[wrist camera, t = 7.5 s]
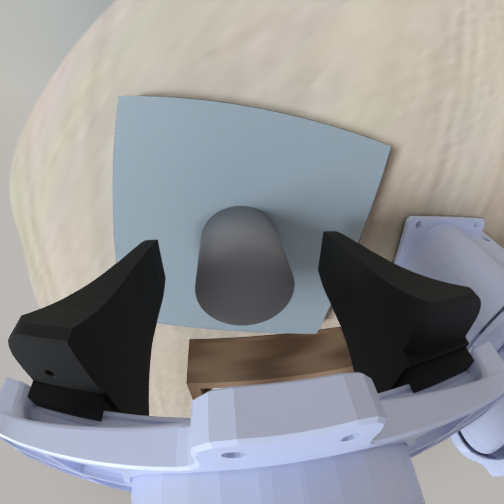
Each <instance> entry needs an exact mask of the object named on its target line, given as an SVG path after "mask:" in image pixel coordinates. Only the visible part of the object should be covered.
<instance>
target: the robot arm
mask: <svg viewBox="0 0 504 504" xmlns="http://www.w3.org/2000/svg"><path fill="white" fill-rule="evenodd" d="M417 222H418V224H417V225H416V223H417ZM484 225H485V220H484V219H483V218H476V217H450V216H410V217H408V218H407V219H406V222H405V225H404V229H403V233H402V237H401V240H400V244H399V247H398V251H397V254H396V258H395V261H394V263H392V262H390V261H388V260H386V259H385V258H383V257H381V256H379V255H377V254H375V253H374V252H372V251H370V250H369V249H367V248H365V247H364V246H362V245H360V244H359V243H357V242H355V241H354V240H352V239H350V238H349V237H347V236H345V235H343V234H342V233H339V232H337V231H323V238H322V245H321V252H320V259H319V265H318V272H319V275H320V279H321V282H322V285H323V288H324V290H325V293H326V295H327V297H328V299H329V301H330V303H331V306H332V308H333V310H334V312H335V314H336V316H337V319H338V321H339V323H340V325H341V328H342V330H343V333H344V336H345V340H346V343H347V346H348V350H349V353H350V357H351V361H352V365H353V369H354V373H338V374H333V375H327V376H321V377H315V378H309V379H302V380H294V381H286V382H278V383H268V384H257V385H244V386H231V387H226V388H220V389H214V390H210V391H208V392H206V393H205V394H203V395H201V396H199V397H197V398H196V399H194V400H193V402H192V407H191V418H173V417H155V416H149V371H150V358H151V348H152V342H153V336H154V332H155V328H156V324H157V320H158V316H159V312H160V308H161V305H162V301H163V296H164V289H165V280H166V277H165V272H164V268H163V263H162V258H161V253H160V248H159V243H158V239H157V240H144V241H143V242H141V243H140V244H139V245H138V246H136V247H135V248H134V249H133V250H132V251H130V252H129V253H128V254H127V255H126V256H125V257H123V258H122V259H121V260H120V261H119V262H117V263H116V264H115V265H114V266H112V267H111V268H110V269H109V270H107V271H106V272H105V273H104V274H102V275H101V276H100V277H98V278H97V279H96V280H94V281H93V282H91V283H90V284H88V285H87V286H85V287H83V288H82V289H80V290H78V291H76V292H75V293H73V294H71V295H69V296H68V297H66V298H64V299H62V300H60V301H58V302H56V303H53V304H51V305H49V306H47V307H44V308H42V309H39V310H36V311H33V312H31V313H28V314H25V315H22V316H21V318H20V319H19V321H18V323H17V325H16V326H15V328H14V330H13V332H12V333H11V335H10V337H9V339H8V343H9V348H10V350H11V352H12V354H13V356H14V357H15V359H16V360H17V361H18V363H19V364H20V365H21V366H22V368H23V369H24V370H25V371H26V372H27V374H28V375H29V376H30V377H31V378H32V379H33V383H32V386H31V387H30V386H29V385H27V384H26V383H23V382H20V381H17V380H14V379H11V378H6V379H5V381H4V384H3V386H2V389H1V391H0V438H1V439H2V440H3V441H5V442H6V443H8V444H9V445H10V446H12V447H13V448H15V449H16V450H18V451H20V452H21V453H23V454H24V455H26V456H27V457H29V458H32V459H34V460H36V461H38V462H41V463H43V464H45V465H48V466H50V467H53V468H55V469H57V470H60V471H63V472H65V473H68V474H70V475H73V476H76V477H79V478H82V479H85V480H88V481H92V482H94V483H98V484H101V485H105V486H108V487H112V488H116V489H120V490H124V491H129V492H132V498H131V504H425V501H424V498H423V495H422V491H421V488H420V485H419V482H418V479H417V476H416V473H415V470H414V467H413V464H412V461H411V458H412V457H414V456H416V455H418V454H420V453H422V452H424V451H426V450H427V449H429V448H431V447H433V446H435V445H437V444H438V443H440V442H442V441H444V440H445V439H447V438H449V437H450V438H451V441H452V442H453V444H454V446H455V447H456V448H457V449H458V450H459V451H460V452H461V453H462V454H463V455H464V456H466V457H467V458H469V459H471V460H474V461H477V462H479V463H480V464H482V465H483V466H484V467H485V468H486V469H487V470H488V472H489V473H490V474H491V475H492V476H504V249H503V248H502V247H501V246H500V245H499V244H498V243H496V242H495V241H494V240H493V239H492V238H491V237H489V236H488V235H487V234H486V233H484V232H483V228H484Z"/></svg>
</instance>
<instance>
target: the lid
mask: <svg viewBox="0 0 504 504" xmlns="http://www.w3.org/2000/svg"><path fill="white" fill-rule="evenodd" d="M390 149H391V146H389V145H386V144H384V143H381V142H378V141H376V140H373V139H370V138H367V137H364V136H362V135H359V134H356V133H353V132H350V131H346V130H343V129H340V128H337V127H333V126H330V125H327V124H323V123H319V122H316V121H312V120H308V119H304V118H300V117H296V116H292V115H288V114H283V113H279V112H274V111H269V110H264V109H259V108H254V107H248V106H242V105H236V104H229V103H222V102H215V101H207V100H197V99H187V98H174V97H157V96H119V97H118V105H117V114H116V125H115V137H114V155H113V224H114V241H115V254H116V263H117V262H119V261H120V260H121V259H122V258H123V257H125V256H126V255H127V254H128V253H129V252H130V251H132V250H133V249H134V248H135V247H136V246H138V245H139V244H140V243H141V242H143V241H144V240H157V239H158V243H159V248H160V253H161V258H162V263H163V268H164V272H165V277H166V280H165V289H164V296H163V301H162V305H161V308H160V312H159V316H158V320H157V323H160V324H168V325H176V326H185V327H195V328H205V329H216V330H229V331H244V332H263V333H291V334H317V332H318V330H319V328H320V326H321V324H322V322H323V320H324V318H325V316H326V314H327V312H328V310H329V308H330V306H331V303H330V301H329V299H328V297H327V295H326V293H325V290H324V288H323V285H322V282H321V279H320V275H319V272H318V265H319V259H320V252H321V245H322V238H323V231H337V232H339V233H342V234H343V235H345V236H347V237H349V238H350V239H352V240H354V241H355V242H357V243H358V241H359V239H360V236H361V234H362V231H363V229H364V226H365V223H366V221H367V218H368V215H369V213H370V210H371V207H372V204H373V201H374V199H375V196H376V193H377V190H378V187H379V184H380V181H381V178H382V175H383V172H384V168H385V165H386V162H387V159H388V155H389V152H390Z"/></svg>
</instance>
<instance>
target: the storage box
mask: <svg viewBox="0 0 504 504" xmlns="http://www.w3.org/2000/svg"><path fill="white" fill-rule="evenodd" d="M353 370H354V369H353V365H352V361H351V357H350V353H349V350H348V346H347V343H346V341H345V338H344V336H343V334H342V331H341V329H340V327H338V328H331V329H324V330H318V332H317V334H291V333H290V334H280V335H269V336H257V337H243V338H226V339H202V340H190V341H189V354H188V369H187V385H188V388H189V391H190V393H191V396H192V398H193V400H194V399H196V398H197V397H199V396H201V395H203V394H205V393H206V392H208V391H210V390H212V388H226V387H231V386H244V385H257V384H268V383H278V382H286V381H294V380H302V379H309V378H315V377H321V376H327V375H333V374H338V373H352V372H353Z"/></svg>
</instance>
